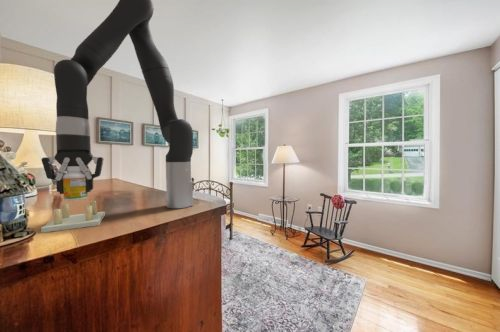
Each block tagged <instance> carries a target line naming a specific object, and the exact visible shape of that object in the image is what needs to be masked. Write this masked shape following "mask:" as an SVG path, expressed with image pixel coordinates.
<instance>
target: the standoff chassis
mask: <svg viewBox="0 0 500 332" xmlns="http://www.w3.org/2000/svg"><path fill="white" fill-rule="evenodd" d="M97 208H98V207H97V201H96V200H94V201H90V202H89V205H85V206H84V211H85V213H78V214H77V213H76V214H70V204H69V203H62V204H61V208H54V209H53V219H52V220H50V221H49V222H48V223H46V224H45V225H43V226H42V227H41V228H40V230H41V232H40V233H50V232H57V231H65V230H67V231H68V230H73V229H81V228H89V227H95V226H100V225H101V223H102V221H103V219H104V217H105V216H106V211H98V209H97Z"/></svg>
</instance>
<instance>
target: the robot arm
mask: <svg viewBox="0 0 500 332" xmlns="http://www.w3.org/2000/svg"><path fill="white" fill-rule="evenodd" d="M154 9H155V8H154V3H153V0H119V1H118V3H117V4H116V5H115V6H114V8H113V9H112V11H111V12H110V13H109V14H108V15H107V17H106V18H105V19H104V20H103V21H102V22H100V24H99V25H98V26H97V27H96V28H95V29H94V30H92V32H91V33H90V34H89V35H87V37H85V39H84V40H83V41H81V42H80V44H79V45H78V46H77V47H76V49H75V52H74V55H73V56H72V57H71V58H70V59H61V60H60V61H58V62H57V63H55V65H54V68H53V77H54V86H55V93H56V105H55V106H56V121H55V136H56V138H55V139H56V140H55V141H56V142H55V143H56V154H55V155H54V156H50V157H49V156H48V157H42V158H41V160H40V161H41V164H42V166H43V168H44V169H43V170H44V173H45V177H46V179H49V180H54V181H55V182H56V192H57V193H59V195H64V193H63V175H64V174H67V171H66V168H67V166H80V168H81V169H82V171H83V173H84V174H85V176H86V177H87V180H86V190H87V192H88V193H90V192H92V191H93V189H94V179H96V178H98V177H100V176H101V173H102V169H103V165H104V157H102V156H100V157H99V156H93V154H92V152H91V151H92V149H91V148H92V147H91V126H90V121H89V105H88V99H87V98H88V86H89V85H90V83H91V82H92V81H93V80H94V78H95V76H96V75H97V73H98V72H99V71H100V69H101V68H103V66H104V65H106V63H107V62H108V61H109V60H110V59H111V58H112V56H114V54H115V53H117V50H118V49H119V48H120V46H121V45H122V43H124V40H126V38H127V36H128V35H129V37H130V40H131V42H132V45H133V47H134V50H135V55H136V57H137V61H138V64H139V66H140V69H141V74H142V77H143V79H144V81H145V84H146V87H147V89H148V93H149V95H150V98H151V101H152V104H153V106H154V109H155V111H156V115H157V119H158V124H159V128H160V131H161V135H162V138H163V139H164V140H165V142H166V143H167V144H169V145H168V146H169V148H168V152H167V153H166V155H165V181H166V183H165V185H166V187H165V188H166V192H165V193H166V207H167V208H168V209H184V208H188V207H193V206H194V195H193V193H194V187H193V184H194V183H193V181H192V165H191V164H192V163H191V162H192V159H191V158H192V156H193V151H194V133H193V127H192V125H191V124H190V122H188V120H186V119H183V118H182V119H180V118H179V117H178V115H177V112H176V107H175V102H174V101H175V99H174V98H175V94H174V93H175V88H174V81H173V78H172V74H171V71H170V68H169V66H168V63H167V61H166V59H165V57H164V56H163V55H162V53H161V52H160V51H159V49H158V48H157V45H156V44H155V42H154V40H153V35H152V32H151V28H150V24H149V23H150V21H151V19H152V17H153V15H154ZM55 161H56V162H57V163H58V164H60V167H59V169H58V173H57V174H56V173H55V170H54V166H53V165H54V164H55ZM92 161H93V163H94V164H95V170H94V173H92V171H91V168H90V167H89V164H90V163H92Z"/></svg>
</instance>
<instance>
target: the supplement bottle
mask: <svg viewBox="0 0 500 332" xmlns="http://www.w3.org/2000/svg"><path fill="white" fill-rule="evenodd" d="M66 171H67V173H66V174H64V175H63V193H64V194H63V200H64V201H67V202H75V201H82V200H85V199H88V197H89V195H88V193H89V192H87V190H86V180H87V177H86V176H85V174H84V173H83V171H82V169H81V168H80V166H67V168H66Z"/></svg>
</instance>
